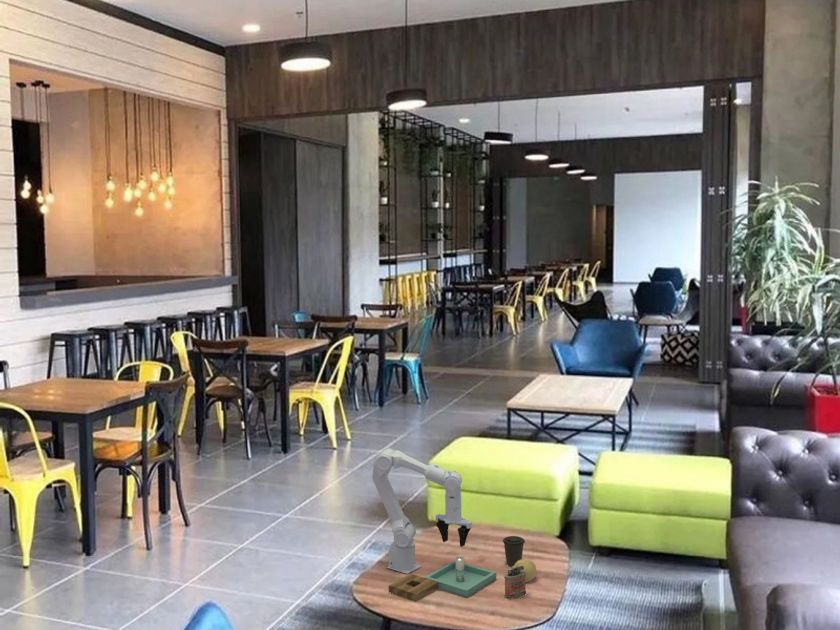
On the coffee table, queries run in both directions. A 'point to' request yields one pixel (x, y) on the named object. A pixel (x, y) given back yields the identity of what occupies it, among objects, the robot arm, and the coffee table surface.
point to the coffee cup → (513, 549)
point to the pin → (459, 569)
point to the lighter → (515, 582)
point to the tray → (472, 579)
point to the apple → (527, 568)
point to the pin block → (413, 587)
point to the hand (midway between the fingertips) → (453, 543)
